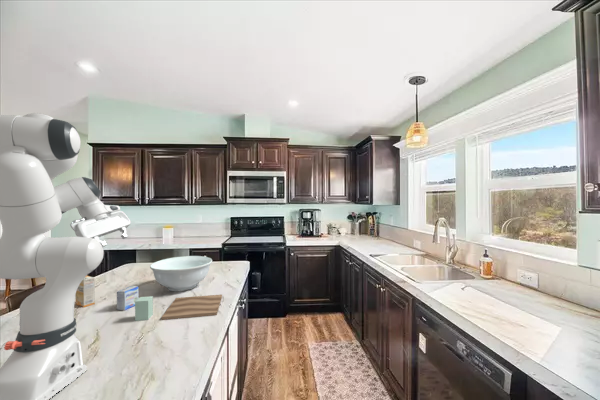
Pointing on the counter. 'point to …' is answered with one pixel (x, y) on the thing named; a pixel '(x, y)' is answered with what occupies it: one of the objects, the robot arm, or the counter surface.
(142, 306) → the green block
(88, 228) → the robot arm
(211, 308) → the walnut board
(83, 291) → the supplement box
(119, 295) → the medicine box
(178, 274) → the bowl
